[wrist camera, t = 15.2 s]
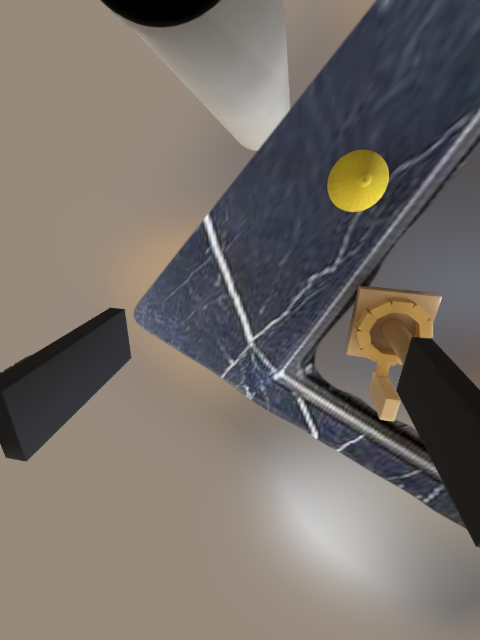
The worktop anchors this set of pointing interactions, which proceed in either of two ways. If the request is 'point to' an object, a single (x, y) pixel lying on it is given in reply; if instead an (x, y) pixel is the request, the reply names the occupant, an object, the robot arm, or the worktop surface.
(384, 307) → the hang ring
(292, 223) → the worktop surface
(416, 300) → the peg stand
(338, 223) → the worktop surface
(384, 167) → the lemon
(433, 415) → the robot arm
